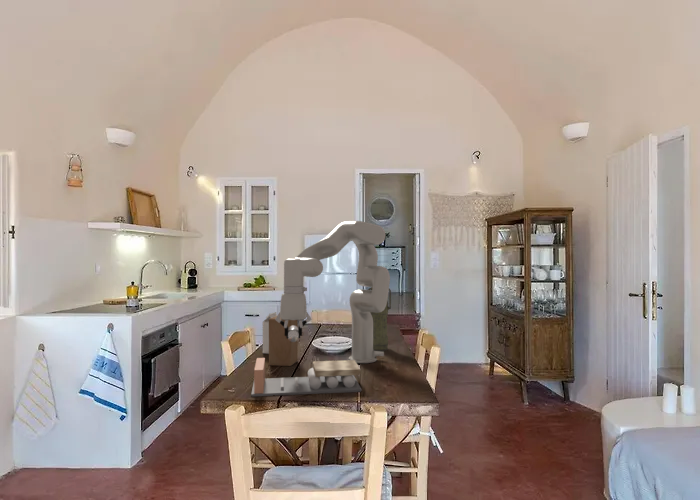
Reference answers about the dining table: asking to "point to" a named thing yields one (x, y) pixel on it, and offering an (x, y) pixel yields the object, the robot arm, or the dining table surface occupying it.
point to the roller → (293, 333)
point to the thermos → (380, 327)
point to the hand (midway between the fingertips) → (293, 337)
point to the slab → (335, 368)
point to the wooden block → (281, 344)
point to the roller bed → (300, 383)
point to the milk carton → (267, 332)
